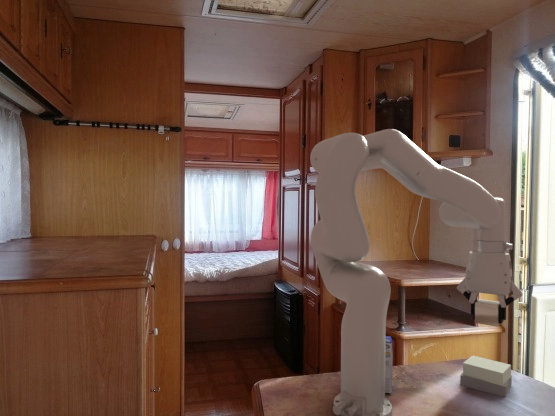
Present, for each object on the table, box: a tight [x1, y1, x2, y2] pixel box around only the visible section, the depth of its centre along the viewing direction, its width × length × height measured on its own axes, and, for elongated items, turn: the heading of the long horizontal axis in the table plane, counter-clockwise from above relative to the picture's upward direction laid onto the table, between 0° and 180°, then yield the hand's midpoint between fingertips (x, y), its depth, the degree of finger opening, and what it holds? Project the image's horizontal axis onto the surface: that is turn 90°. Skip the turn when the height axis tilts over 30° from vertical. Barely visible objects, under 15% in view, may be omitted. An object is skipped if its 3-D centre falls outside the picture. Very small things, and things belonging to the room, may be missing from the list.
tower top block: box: [462, 355, 512, 386], centre depth 102 cm, size 7×9×3 cm
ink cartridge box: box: [385, 335, 394, 394], centre depth 101 cm, size 10×6×14 cm, turn 78°
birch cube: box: [474, 298, 500, 328], centre depth 102 cm, size 5×5×5 cm
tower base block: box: [459, 372, 513, 398], centre depth 102 cm, size 8×10×3 cm
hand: (488, 319), depth 102 cm, fingers closed on birch cube, 5 cm apart
